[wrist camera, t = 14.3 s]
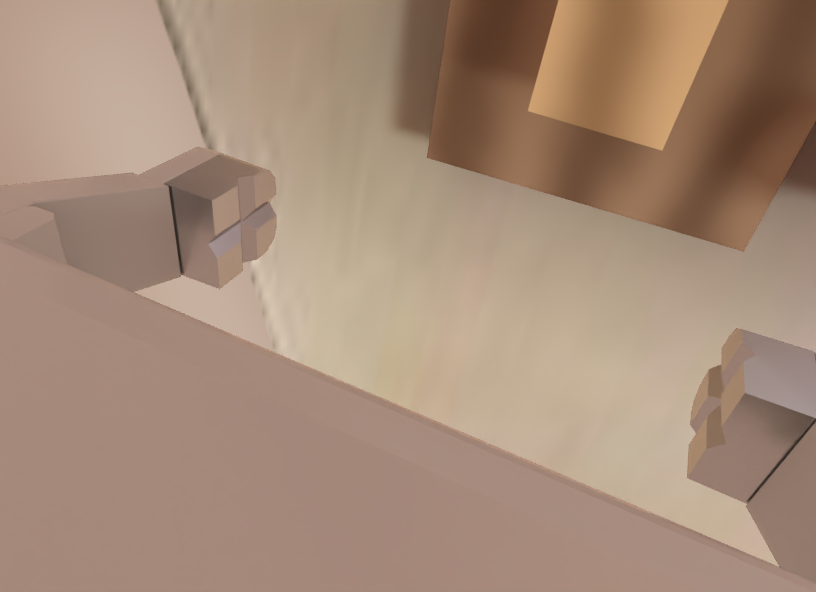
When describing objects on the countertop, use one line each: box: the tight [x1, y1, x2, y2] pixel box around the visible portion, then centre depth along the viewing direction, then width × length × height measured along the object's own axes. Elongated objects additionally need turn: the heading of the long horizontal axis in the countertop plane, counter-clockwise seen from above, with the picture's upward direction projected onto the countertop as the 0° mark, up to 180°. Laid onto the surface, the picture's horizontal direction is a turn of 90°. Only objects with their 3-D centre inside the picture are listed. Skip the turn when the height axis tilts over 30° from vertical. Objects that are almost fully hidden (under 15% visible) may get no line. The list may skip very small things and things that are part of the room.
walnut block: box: [427, 0, 816, 251], centre depth 29 cm, size 18×18×4 cm
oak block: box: [528, 0, 729, 151], centre depth 26 cm, size 6×6×5 cm
